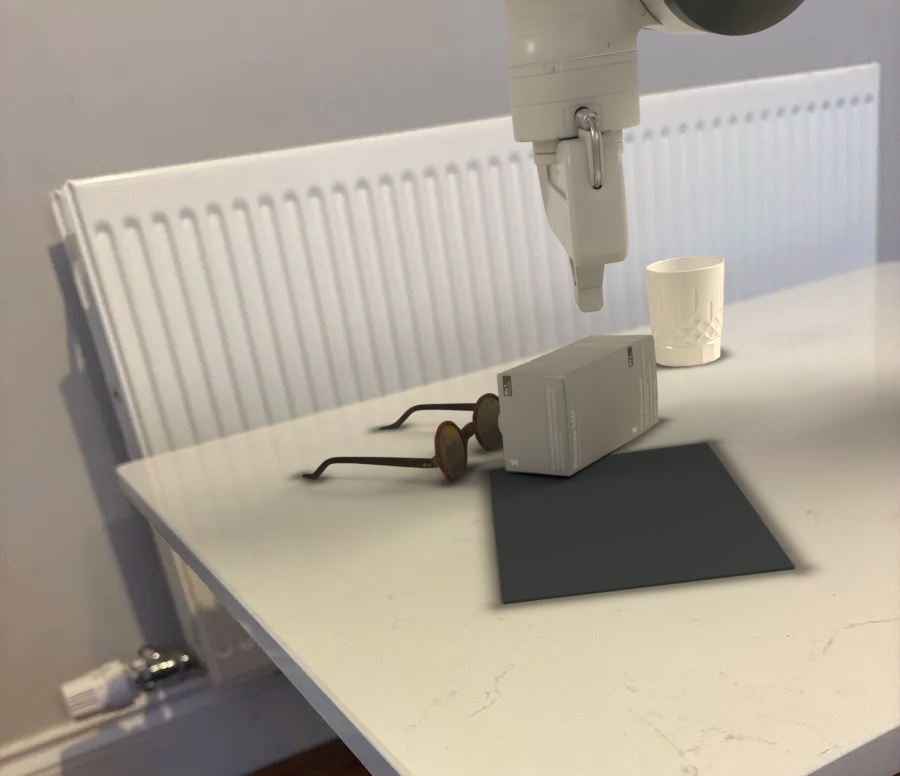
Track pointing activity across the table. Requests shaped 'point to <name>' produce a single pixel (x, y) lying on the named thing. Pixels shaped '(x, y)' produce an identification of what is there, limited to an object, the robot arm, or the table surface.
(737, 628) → the table surface
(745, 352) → the table surface
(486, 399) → the eyeglasses
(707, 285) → the white cup
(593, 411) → the cosmetic box
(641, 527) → the mat
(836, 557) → the table surface
